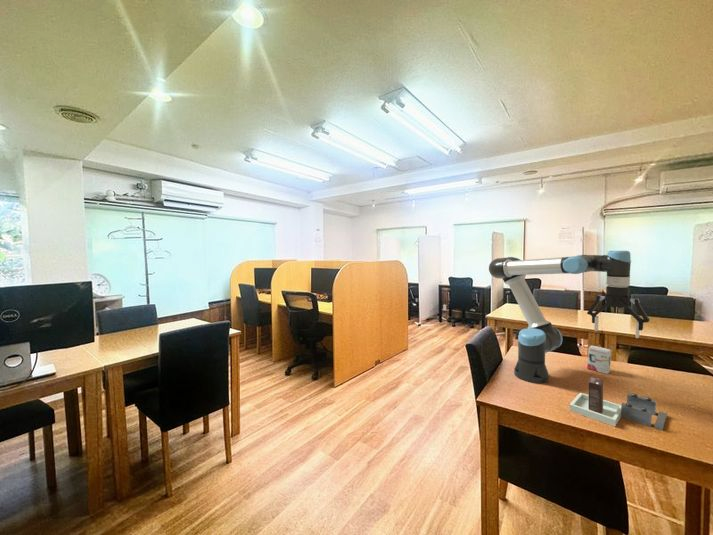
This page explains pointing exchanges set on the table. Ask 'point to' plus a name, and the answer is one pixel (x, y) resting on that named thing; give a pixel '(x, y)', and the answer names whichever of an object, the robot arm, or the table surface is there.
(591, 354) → the ink box
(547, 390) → the table surface
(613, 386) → the table surface
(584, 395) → the tray
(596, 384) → the box
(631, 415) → the hitch bracket
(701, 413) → the table surface
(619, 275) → the robot arm
